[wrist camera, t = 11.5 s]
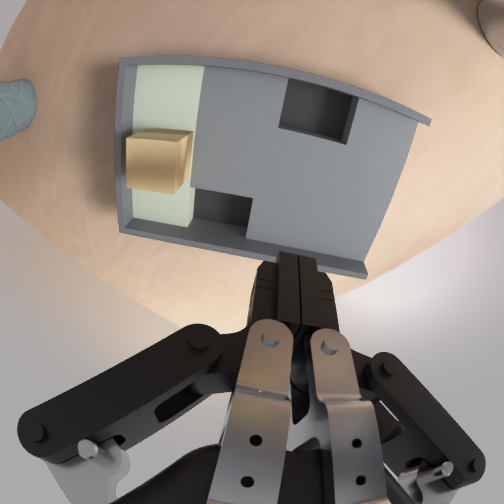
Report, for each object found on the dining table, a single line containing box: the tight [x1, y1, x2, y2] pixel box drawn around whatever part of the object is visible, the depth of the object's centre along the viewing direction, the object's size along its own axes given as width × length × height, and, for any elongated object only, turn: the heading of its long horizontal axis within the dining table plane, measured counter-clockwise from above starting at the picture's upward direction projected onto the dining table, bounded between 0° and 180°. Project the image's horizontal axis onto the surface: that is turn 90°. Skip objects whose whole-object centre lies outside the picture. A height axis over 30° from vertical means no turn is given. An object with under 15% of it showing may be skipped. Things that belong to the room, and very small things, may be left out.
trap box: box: [115, 56, 431, 280], centre depth 27 cm, size 20×30×6 cm, turn 80°
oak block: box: [126, 127, 194, 195], centre depth 24 cm, size 5×5×5 cm
